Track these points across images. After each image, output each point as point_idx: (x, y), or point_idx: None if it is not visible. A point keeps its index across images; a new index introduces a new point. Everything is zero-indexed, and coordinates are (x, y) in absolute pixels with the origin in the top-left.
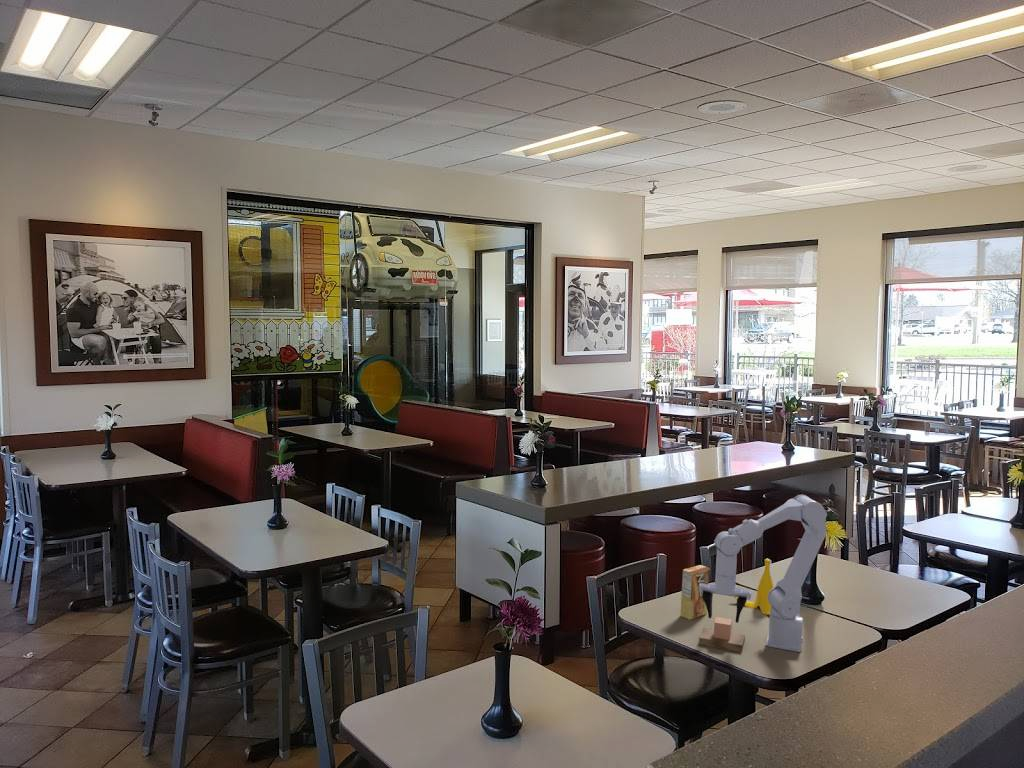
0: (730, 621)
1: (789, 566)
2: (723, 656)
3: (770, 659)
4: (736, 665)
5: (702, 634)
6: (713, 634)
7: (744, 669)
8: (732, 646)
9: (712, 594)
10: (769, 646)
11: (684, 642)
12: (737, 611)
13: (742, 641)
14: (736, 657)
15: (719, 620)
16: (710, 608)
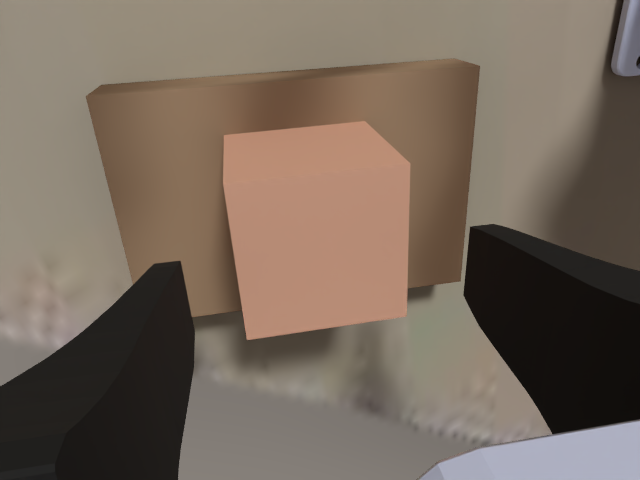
0: (398, 226)
1: None
2: (341, 367)
3: (603, 260)
4: (420, 421)
5: (141, 255)
6: (224, 206)
7: (460, 435)
8: None
9: (101, 449)
10: (633, 74)
11: (45, 318)
12: (550, 411)
13: (461, 216)
14: (413, 339)
15: (282, 265)
16: (178, 440)
